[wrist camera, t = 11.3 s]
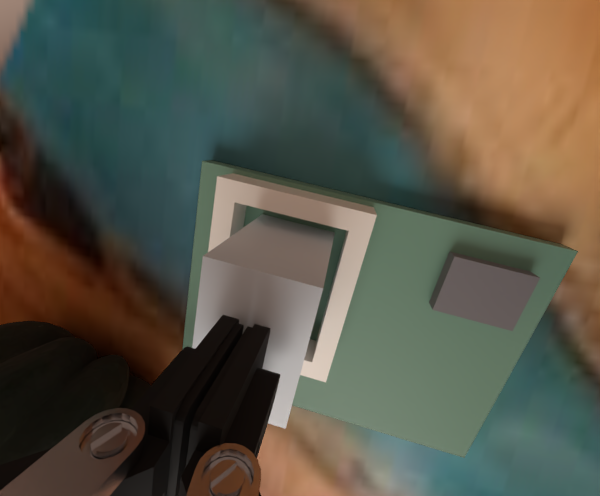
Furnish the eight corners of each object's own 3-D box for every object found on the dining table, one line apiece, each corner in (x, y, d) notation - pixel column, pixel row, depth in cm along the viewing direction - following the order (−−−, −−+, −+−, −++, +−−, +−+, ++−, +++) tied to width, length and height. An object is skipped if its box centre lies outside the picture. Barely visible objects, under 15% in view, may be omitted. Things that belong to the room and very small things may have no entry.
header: (373, 207, 15) (376, 215, 14) (328, 358, 19) (325, 382, 17) (232, 173, 16) (217, 176, 14) (211, 325, 19) (196, 344, 17)
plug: (334, 232, 16) (323, 288, 10) (304, 347, 19) (278, 455, 12) (262, 214, 16) (203, 256, 10) (241, 329, 19) (182, 424, 12)
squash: (8, 267, 15) (-635, 676, 8) (224, 458, 17) (-105, 909, 10) (65, 295, 27) (-161, 462, 20) (187, 405, 30) (27, 591, 22)
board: (561, 244, 16) (621, 270, 12) (458, 440, 20) (480, 500, 17) (211, 160, 17) (176, 162, 14) (189, 359, 22) (158, 399, 18)
